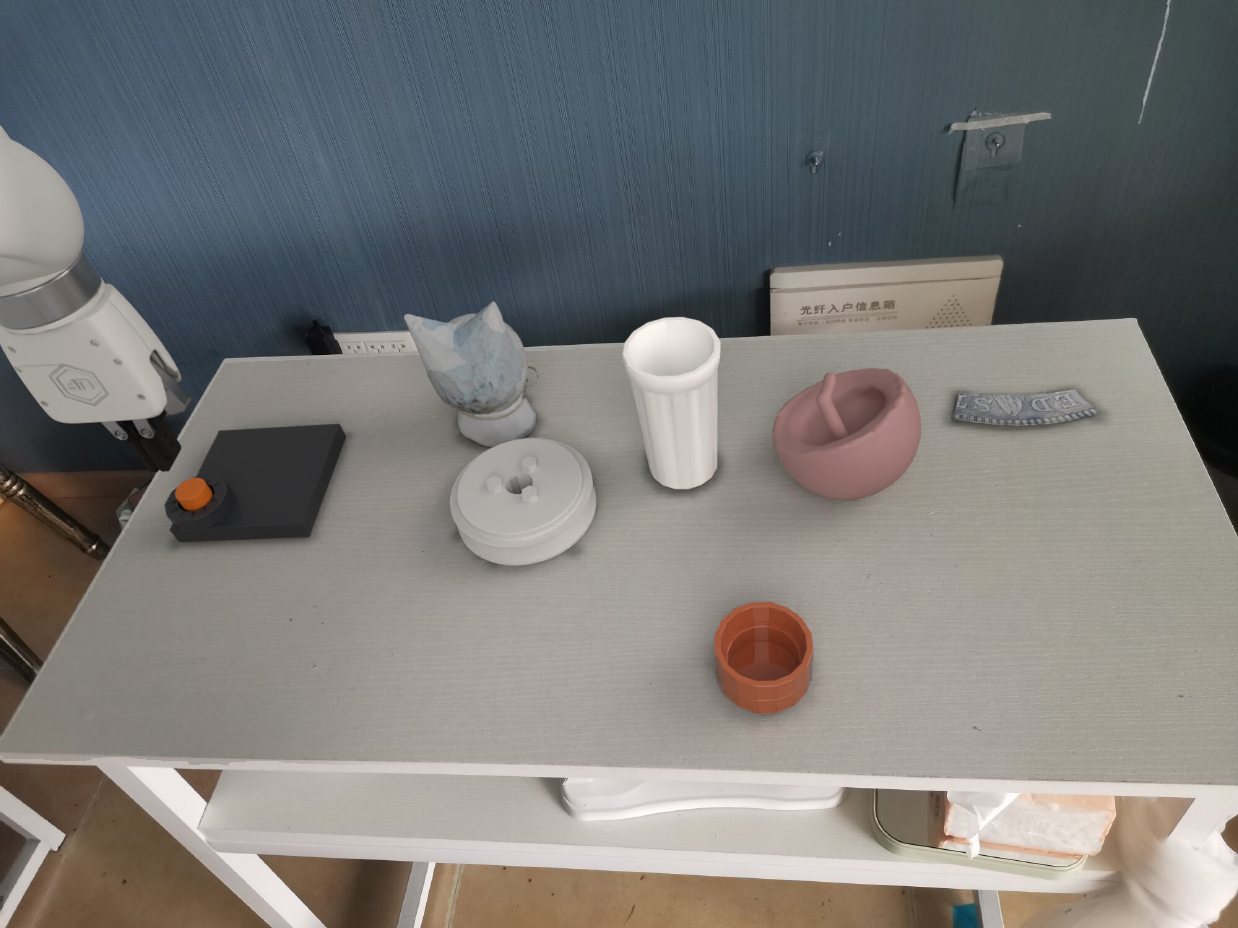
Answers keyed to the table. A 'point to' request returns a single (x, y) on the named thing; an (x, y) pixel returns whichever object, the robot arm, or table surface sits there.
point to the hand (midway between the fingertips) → (166, 460)
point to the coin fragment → (1022, 408)
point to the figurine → (478, 373)
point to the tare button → (193, 494)
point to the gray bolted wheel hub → (523, 501)
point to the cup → (676, 397)
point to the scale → (261, 484)
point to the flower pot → (763, 657)
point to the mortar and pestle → (849, 433)
